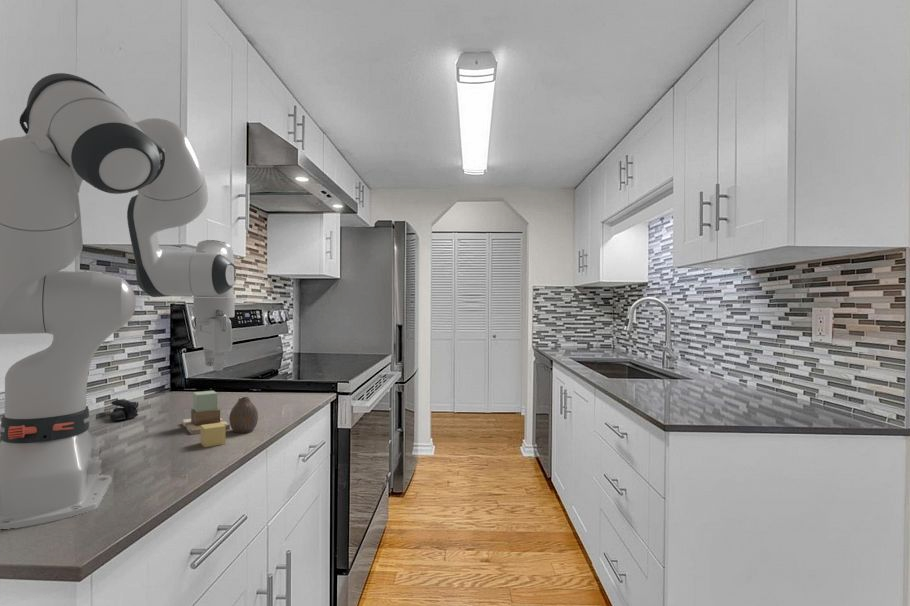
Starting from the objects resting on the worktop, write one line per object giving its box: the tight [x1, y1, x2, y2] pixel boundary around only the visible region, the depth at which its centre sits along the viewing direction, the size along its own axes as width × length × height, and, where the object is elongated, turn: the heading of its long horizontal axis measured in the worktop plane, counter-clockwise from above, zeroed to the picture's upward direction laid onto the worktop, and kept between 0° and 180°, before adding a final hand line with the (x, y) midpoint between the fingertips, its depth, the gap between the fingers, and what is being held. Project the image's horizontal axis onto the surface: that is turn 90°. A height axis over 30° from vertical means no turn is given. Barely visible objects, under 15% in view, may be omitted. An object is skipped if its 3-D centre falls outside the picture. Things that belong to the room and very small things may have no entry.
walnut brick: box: [190, 407, 221, 426], centre depth 134 cm, size 6×6×4 cm
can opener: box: [109, 398, 139, 422], centre depth 146 cm, size 18×7×6 cm, turn 43°
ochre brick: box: [199, 422, 227, 448], centre depth 118 cm, size 4×4×4 cm
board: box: [181, 417, 231, 435], centre depth 134 cm, size 14×9×1 cm, turn 37°
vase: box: [228, 396, 259, 434], centre depth 130 cm, size 7×7×9 cm
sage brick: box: [192, 390, 218, 412], centre depth 134 cm, size 5×5×4 cm
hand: (213, 368), depth 118 cm, fingers open, 8 cm apart
